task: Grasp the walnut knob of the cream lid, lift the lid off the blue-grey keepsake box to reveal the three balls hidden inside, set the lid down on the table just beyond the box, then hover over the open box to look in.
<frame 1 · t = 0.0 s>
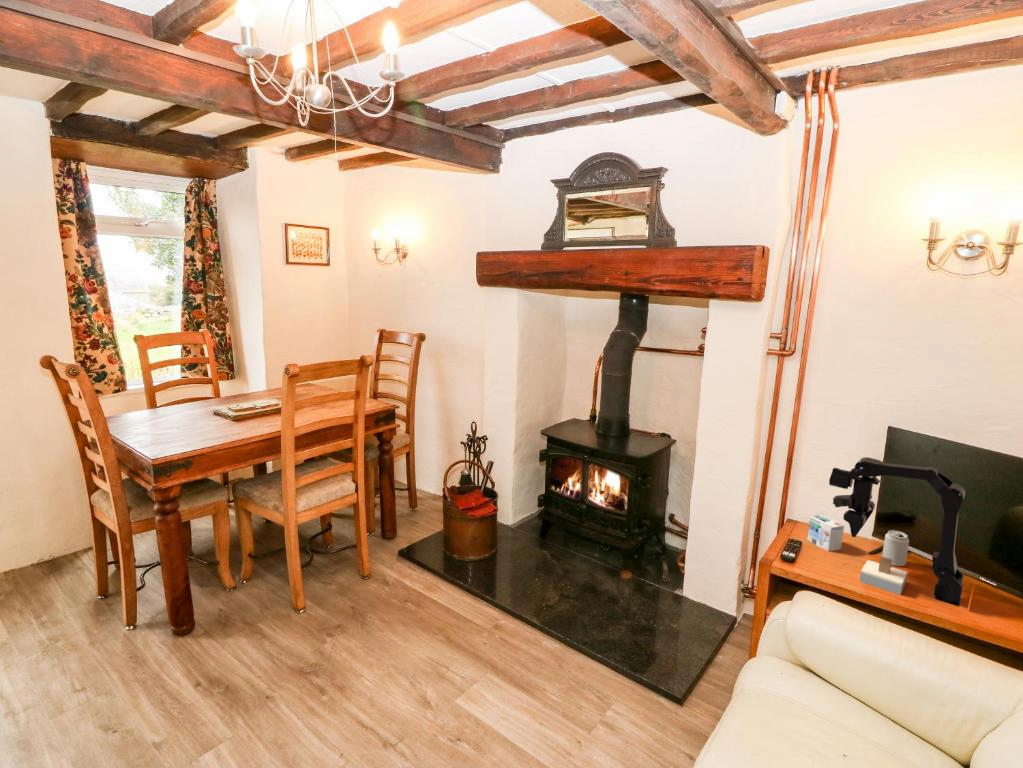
hand: (856, 532, 201), 15 cm above the table, fingers open, 9 cm apart
ball c: (873, 575, 199), resting on keepsake box
keepsake box: (882, 583, 195), on the table
can: (893, 563, 209), on the table
lid: (883, 573, 194), point 4 cm above the table, touching keepsake box
ball b: (882, 577, 192), point 3 cm above the table, tilted 175°, touching keepsake box
light bulb box: (823, 545, 222), on the table
ball a: (895, 582, 194), resting on keepsake box
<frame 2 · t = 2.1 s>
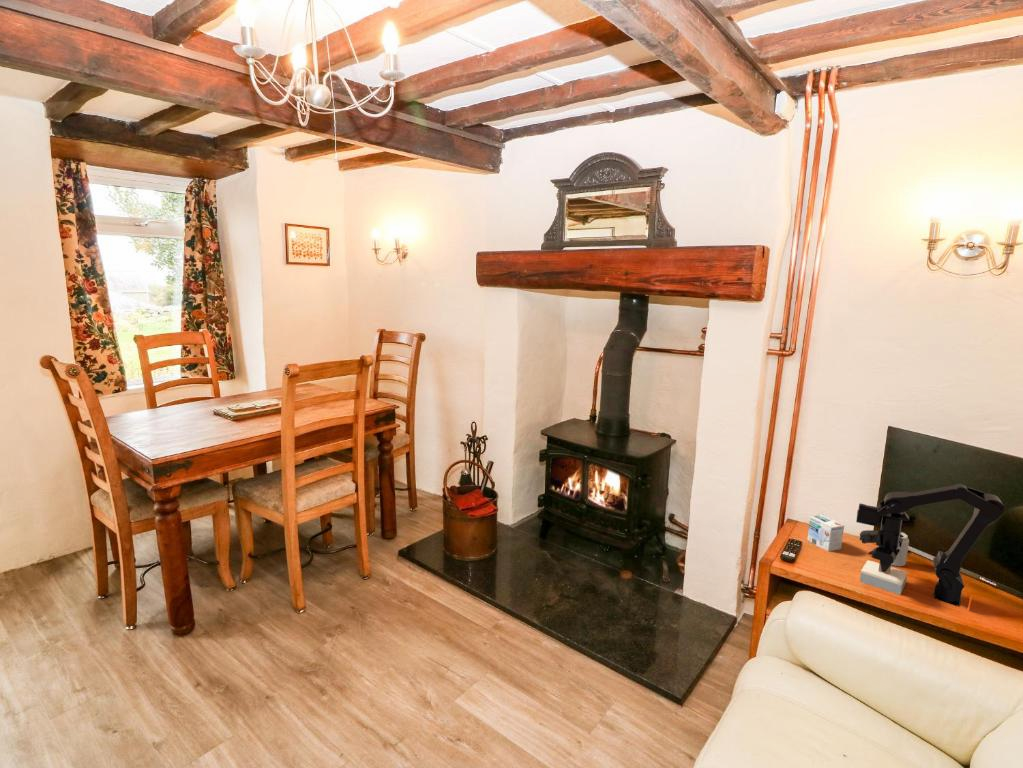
hand: (884, 569, 194), 5 cm above the table, fingers closed on lid, 3 cm apart
lid: (883, 573, 194), point 4 cm above the table, touching gripper, keepsake box
ball b: (884, 576, 195), point 2 cm above the table, tilted 99°, touching keepsake box
everything else where it was.
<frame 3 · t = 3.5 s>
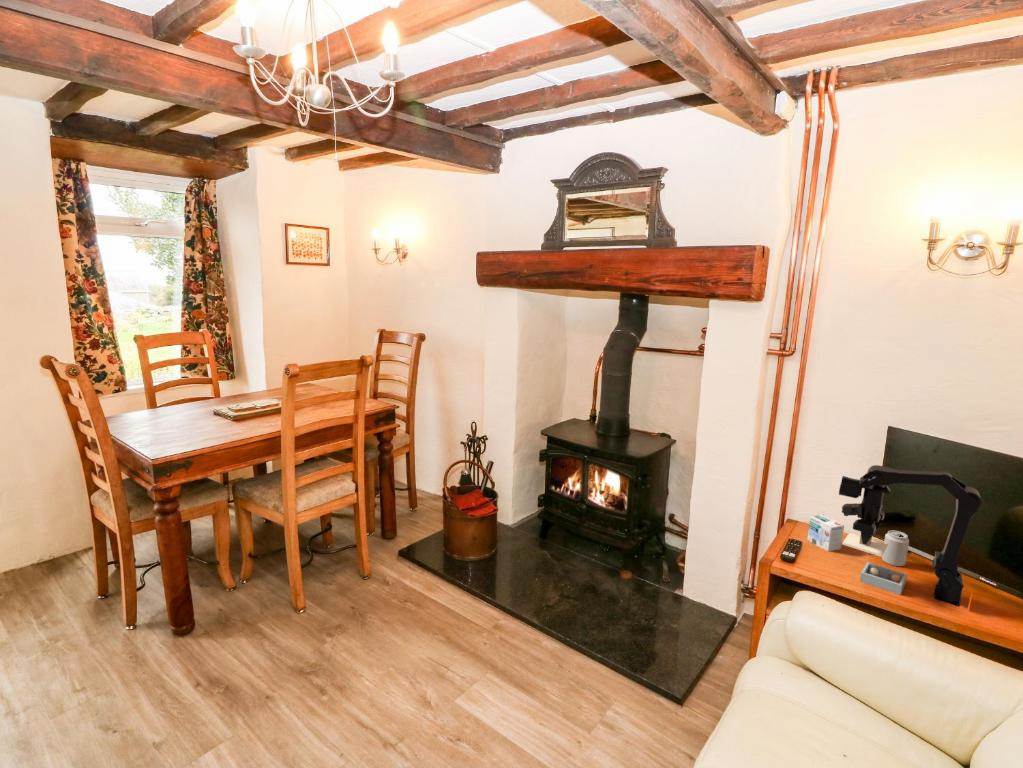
hand: (865, 542, 196), 14 cm above the table, fingers closed on lid, 3 cm apart
lid: (864, 545, 197), point 12 cm above the table, touching gripper
ball b: (884, 578, 196), point 1 cm above the table, tilted 41°, touching keepsake box
everything else where it was.
when the fingers open (3 cm above the table, at t = 6.0 s): lid drops 3 cm, on the table.
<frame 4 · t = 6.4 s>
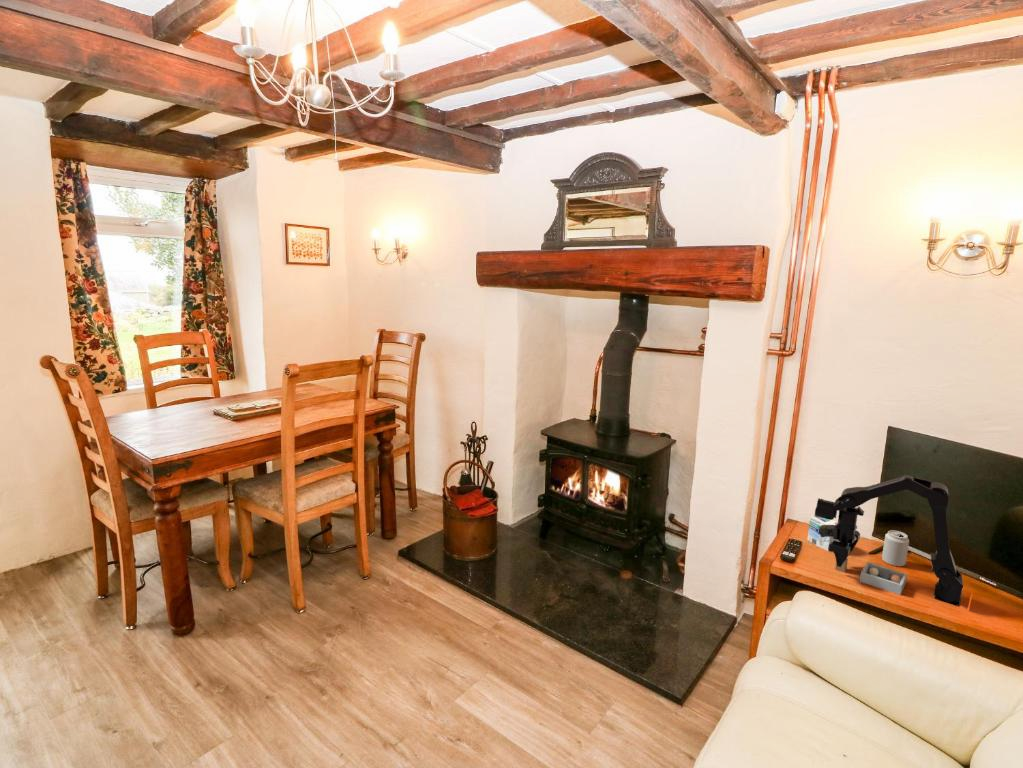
hand: (841, 562, 202), 3 cm above the table, fingers open, 8 cm apart
lid: (840, 572, 203), on the table
ball b: (884, 579, 196), point 1 cm above the table, tilted 12°, touching keepsake box
everything else where it was.
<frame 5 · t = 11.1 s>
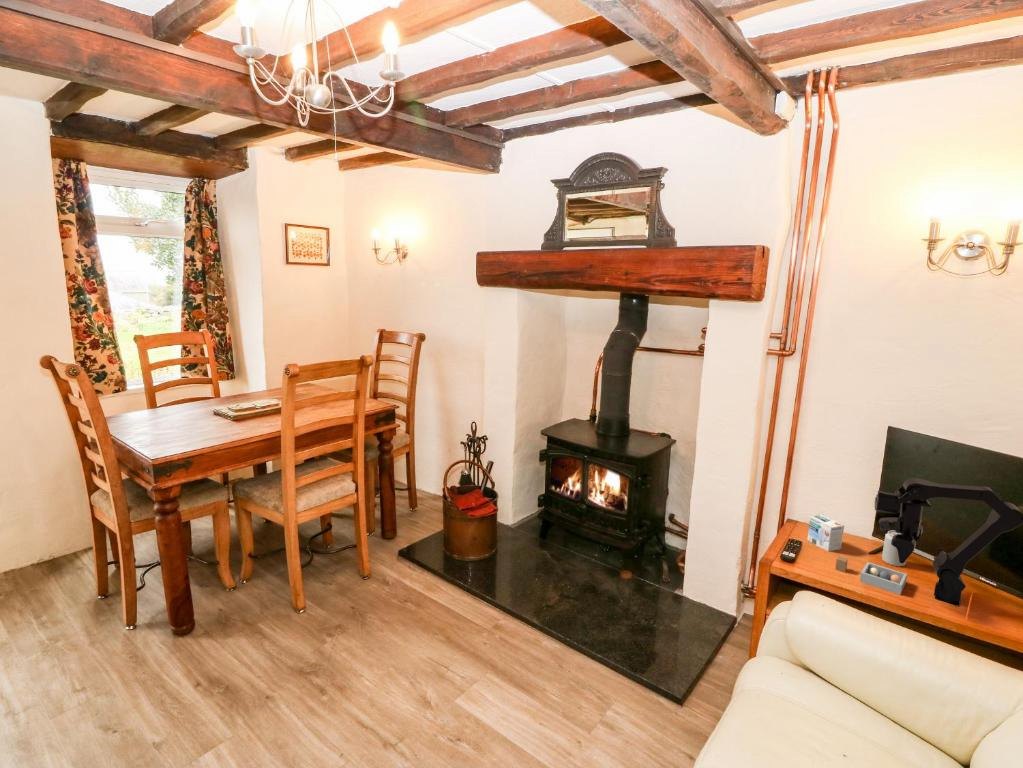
hand: (903, 557, 189), 12 cm above the table, fingers open, 9 cm apart
ball b: (883, 579, 196), point 1 cm above the table, touching keepsake box
everything else where it was.
at the end: lid inside the target area (0.1 cm from its centre), on the table; lid touching table; lid tilted 0° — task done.
